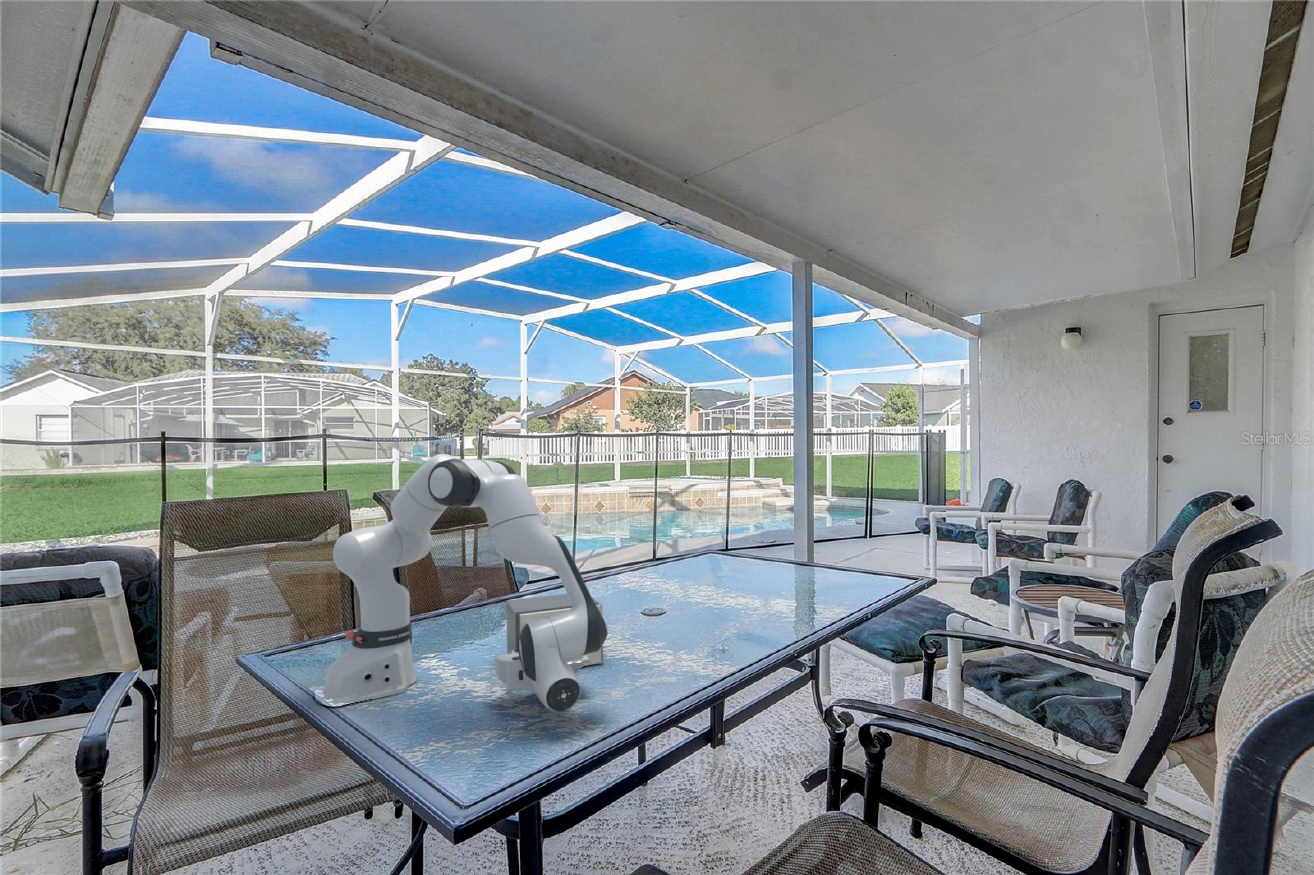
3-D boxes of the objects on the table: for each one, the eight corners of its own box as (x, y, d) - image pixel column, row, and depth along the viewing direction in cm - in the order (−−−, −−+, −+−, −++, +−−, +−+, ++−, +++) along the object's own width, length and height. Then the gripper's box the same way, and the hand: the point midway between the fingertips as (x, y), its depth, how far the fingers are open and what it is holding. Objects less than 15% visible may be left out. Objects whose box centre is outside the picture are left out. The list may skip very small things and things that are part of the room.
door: (525, 684, 142) (524, 621, 142) (520, 674, 148) (519, 614, 149) (610, 669, 150) (609, 610, 151) (602, 661, 157) (601, 604, 157)
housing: (516, 676, 148) (515, 612, 149) (507, 659, 161) (506, 600, 162) (599, 663, 157) (598, 602, 157) (585, 647, 170) (584, 591, 170)
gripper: (591, 648, 135) (575, 632, 148) (500, 661, 127) (491, 643, 140) (591, 676, 135) (575, 657, 148) (500, 691, 127) (491, 670, 140)
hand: (534, 650), depth 144 cm, fingers open, 8 cm apart
